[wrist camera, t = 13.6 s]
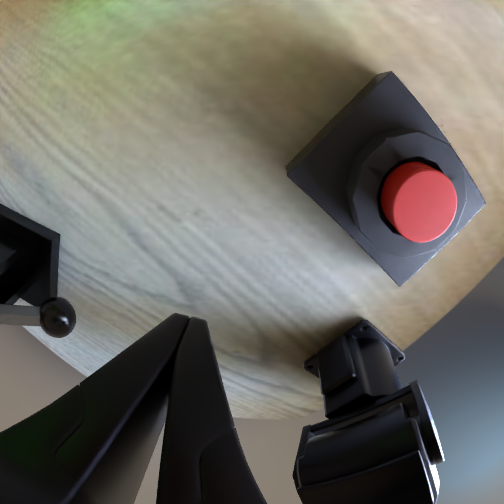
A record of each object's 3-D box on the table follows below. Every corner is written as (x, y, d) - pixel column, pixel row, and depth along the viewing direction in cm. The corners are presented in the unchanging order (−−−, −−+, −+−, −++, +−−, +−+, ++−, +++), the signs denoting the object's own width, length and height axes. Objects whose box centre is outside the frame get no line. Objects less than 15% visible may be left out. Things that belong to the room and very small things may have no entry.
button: (452, 197, 14) (468, 208, 12) (407, 241, 15) (419, 257, 14) (415, 146, 13) (431, 152, 11) (366, 195, 14) (376, 207, 13)
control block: (469, 192, 17) (502, 213, 13) (389, 269, 20) (409, 303, 16) (378, 73, 14) (405, 67, 11) (285, 167, 17) (288, 184, 14)
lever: (75, 288, 20) (78, 319, 18) (74, 316, 21) (77, 346, 19) (-62, 278, 13) (-72, 307, 11) (-54, 307, 14) (-61, 337, 12)
